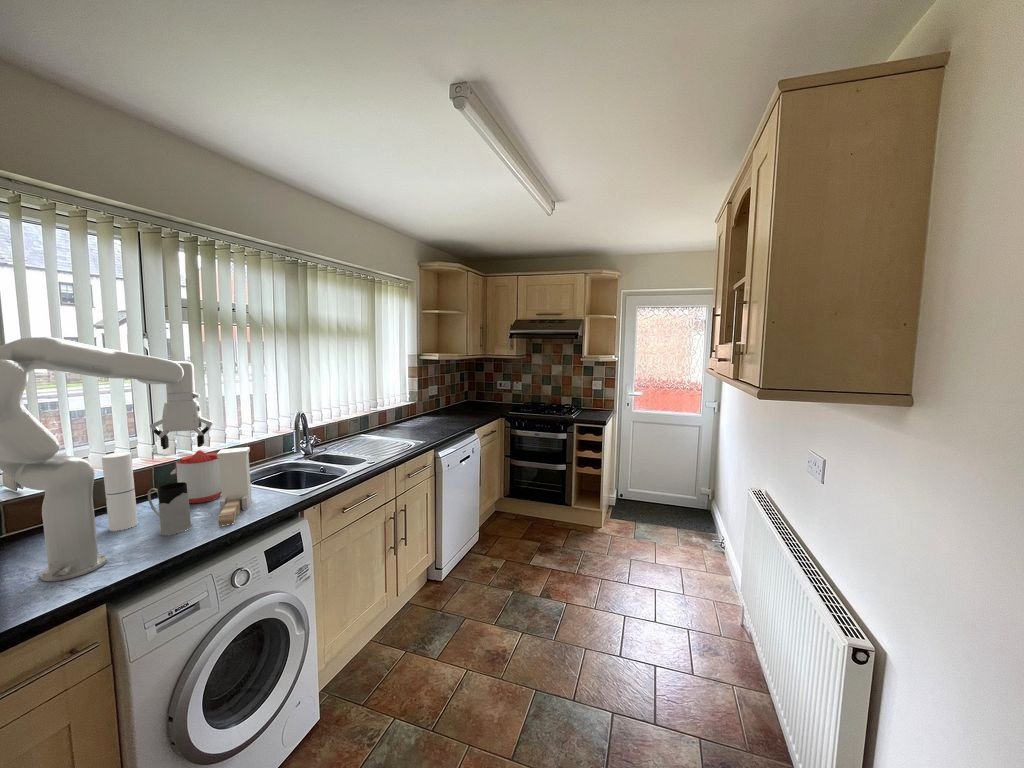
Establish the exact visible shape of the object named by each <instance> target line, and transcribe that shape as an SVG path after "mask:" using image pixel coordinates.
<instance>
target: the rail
mask: <svg viewBox="0 0 1024 768" xmlns="http://www.w3.org/2000/svg"><path fill="white" fill-rule="evenodd" d="M241 508H242V506H241V499H234V500H228V502H227V503H226V505H225V506H224V508H223V510H222V511H221V513H219V514H218V517H217V518H218V527H219V526H221V527H223V526H222V525H227V524H232V523H234V524H235V522H236V520H237V518H238V516H239V514H240V513H241V511H242V509H243V508H242V509H241ZM240 510H241V511H240ZM236 517H237V518H236ZM235 519H236V520H235ZM234 521H235V522H234Z"/></svg>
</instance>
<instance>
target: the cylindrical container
mask: <svg viewBox="0 0 1024 768" xmlns="http://www.w3.org/2000/svg"><path fill="white" fill-rule="evenodd" d="M132 461H133V460H132V452H129V451H128V452H127V451H122V452H114V453H108V454H105V455H102V456H101V463H102V464H101V465H102V470H103V471H102V472H103V480H104V481H103V482H104V492H105V499H106V501H105V502H106V511H107V520H108V530H109V531H110V532H120V531H119V530H121V531H124V529H125V530H128V528H129V529H132V528H134V527H136V526H138V513H137V512H138V511H137V501H136V500H137V499H136V490H135V489H136V488H135V481H134V480H135V479H134V471H133V462H132ZM131 527H132V528H131ZM117 530H118V531H117Z"/></svg>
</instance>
